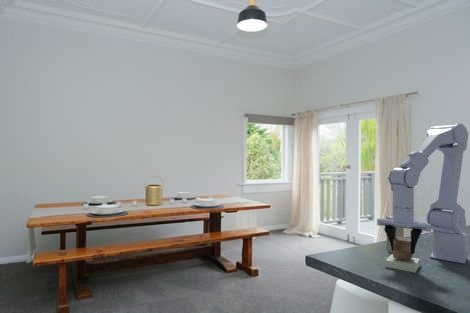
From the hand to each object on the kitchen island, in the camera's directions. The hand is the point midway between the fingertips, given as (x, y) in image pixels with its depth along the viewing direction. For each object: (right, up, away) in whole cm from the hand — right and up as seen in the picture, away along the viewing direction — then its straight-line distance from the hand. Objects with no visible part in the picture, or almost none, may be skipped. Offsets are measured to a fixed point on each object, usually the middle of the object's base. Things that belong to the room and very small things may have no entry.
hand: (402, 251), depth 99 cm
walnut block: (0, -2, 0) cm, 2 cm away
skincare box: (+5, -5, +16) cm, 18 cm away
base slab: (0, -4, 0) cm, 4 cm away
